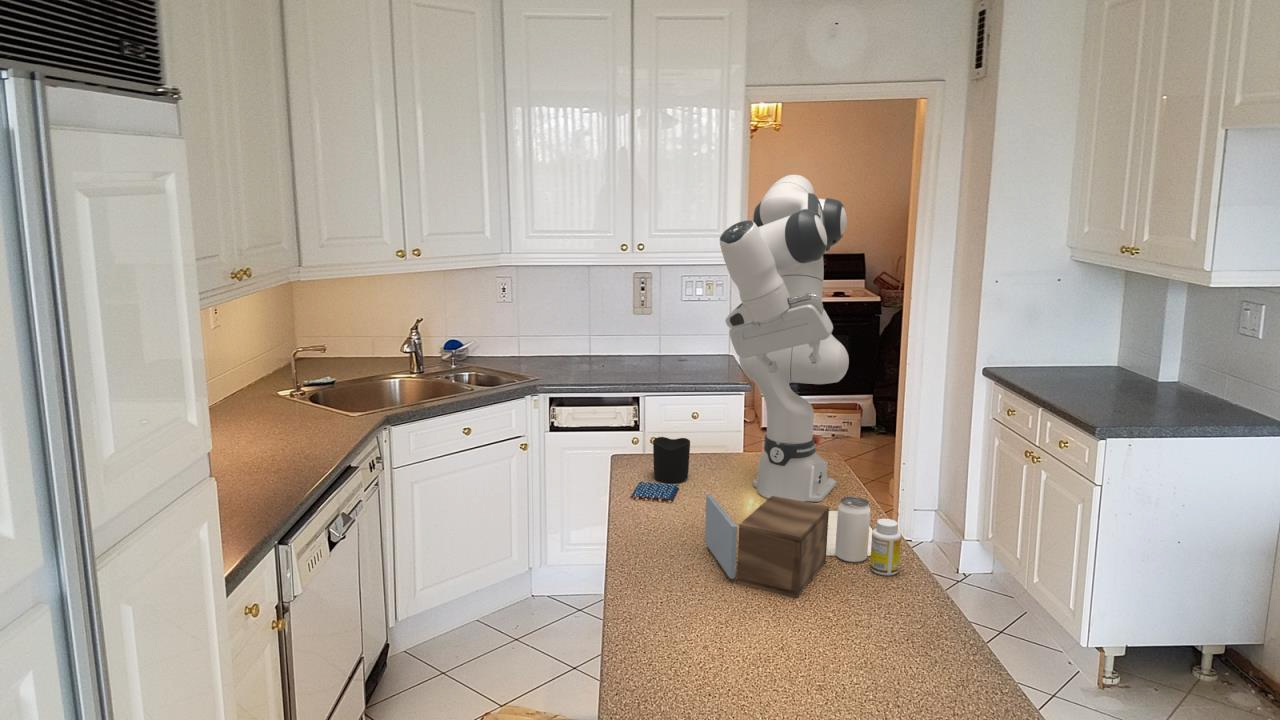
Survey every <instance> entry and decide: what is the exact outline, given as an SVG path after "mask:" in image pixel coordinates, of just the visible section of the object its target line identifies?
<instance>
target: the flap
mask: <svg viewBox="0 0 1280 720" xmlns="http://www.w3.org/2000/svg"><path fill="white" fill-rule="evenodd" d="M705 498H706V500H705V525H704V526H705V530H704V543H705V545H706V547H708V549H709V550H710V552H711V553H712V555H713V556H714V557H715V559H716V560H717V562H718V563H719V565H720V566H721V568H722V569H723V571H724V572H725V573H726V575H727V577H728V578H729V579H735V578H736V565H737V564H736V560H737V543H738V542H737V539H738V536H737V535H738V526H737V524H736V523H735V522H734V520H732V518H731V517H730V516H729V514H727V512H726V511H725V510H724V508H723V507H722V505H720V503H719V502H718V501H717V499H715V498H714V496H713V494H706V496H705Z"/></svg>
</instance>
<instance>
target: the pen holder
mask: <svg viewBox="0 0 1280 720" xmlns="http://www.w3.org/2000/svg"><path fill="white" fill-rule="evenodd" d="M652 441H653V442H652V448H653V450H652V451H653V459H652V460H653V477H654V478H653V479H655V481H657V482H658V483H661V484H662V483H663V484H665V483H666V484H668V485H669V484H673V485H674V484H675V485H677V484H682V483H684V482H687V480H688V478H689V477H688V476H689V469H690V468H689V465H690V451H691V449H690V448H691V440H690V439H689V438H686V437H680V438H676V439H673V438H669V437H664V436H658V437H655V438H653V440H652Z"/></svg>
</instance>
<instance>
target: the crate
mask: <svg viewBox="0 0 1280 720" xmlns="http://www.w3.org/2000/svg"><path fill="white" fill-rule="evenodd" d="M829 513H830V506H829V505H824V504H818V503H814V502H813V503H812V502H809V501H804V502H803V501H798V500H792V499H787V498H782V497H776V496H771V497H770V498H767V499H766V501H764V502H763V503H762V504H761V505H760V506H758V507H757V508H756V509H755V510H754V511H753V512H751V514H749V515H748V516H747V517H746V518H745V519H743V521H741V522H740V523H739V524H738V542H737V543H738V544H737V571H736V584H737V585H741V586H745V587H750V588H754V589H758V590H762V591H767V592H770V593H775V594H779V595H783V596H788V597H793V598H796V599H797V598H798V597H799V596H800V595H801V594H802V593H803V591H805V589H806V588H807V586H808V585H809V584H810V583H811V581H812V580H813V579H814V578H815V577H816V575H817V574H818V573H819V572H820V570H821V569H822V568H823V567H824V565H825V564H826V563H827V548H828V547H827V546H828V534H829V533H828V530H829V516H830V514H829Z"/></svg>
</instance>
